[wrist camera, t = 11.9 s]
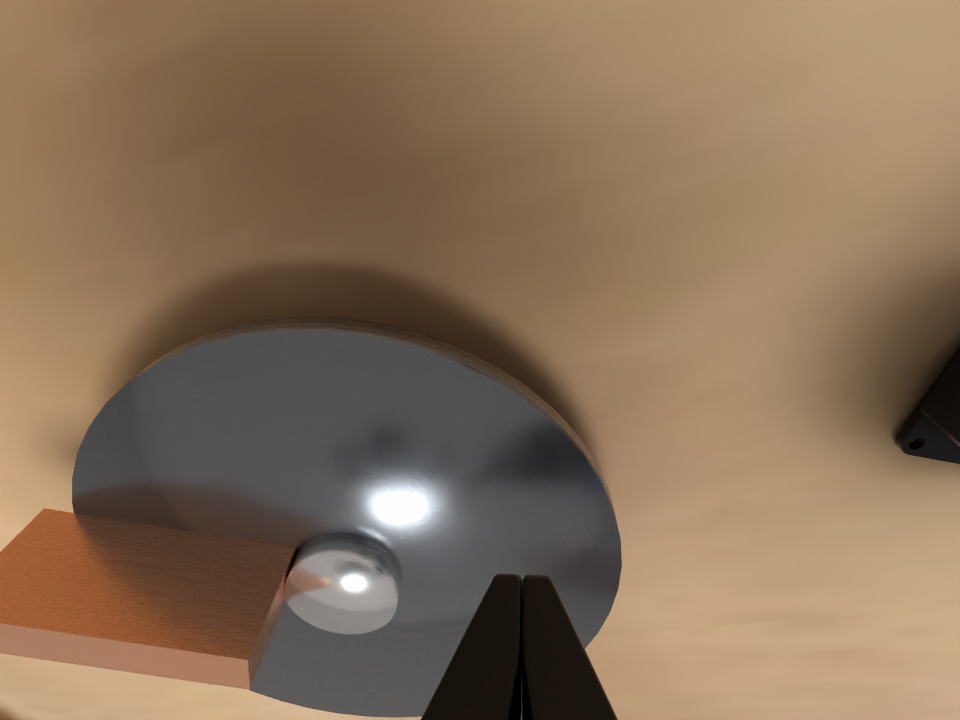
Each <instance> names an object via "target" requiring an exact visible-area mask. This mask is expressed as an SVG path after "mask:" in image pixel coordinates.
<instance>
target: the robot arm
mask: <svg viewBox="0 0 960 720" xmlns="http://www.w3.org/2000/svg"><path fill="white" fill-rule="evenodd" d="M914 439H915V440H914ZM913 440H914V441H913ZM911 441H912V442H911ZM895 443H896V444H897V446H898V447H899V448H900V449H901V450H902V451H903V452H904V453H906V454H909V455H914V456H919V457H925V458H930V459H936V460H941V461H947V462H952V463H958V464H960V347H959V348H958V350H957V351H956V352H955V354H954V355H953V357H952V358H951V360H950V361H949V362H948V364H947V365H946V367H945V368H944V369H943V371H942V372H941V374H940V375H939V376H938V378H937V379H936V381H935V382H934V383H933V385H932V386H931V388H930V389H929V390H928V392H927V393H926V395H925V396H924V397H923V399H922V400H921V402H920V403H919V404H918V406H917V407H916V409H915V410H914V411H913V413H912V414H911V416H910V417H909V418H908V420H907V421H906V423H905V424H904V425H903V427H902V428H901V430H900V431H899V432H898V434H897V435H896V438H895ZM521 717H522V720H618V719H617V717H616V715H615V713H614V711H613V708H612V706H611V704H610V702H609V700H608V698H607V696H606V694H605V691H604V689H603V687H602V685H601V683H600V681H599V679H598V677H597V674H596V672H595V670H594V668H593V666H592V664H591V662H590V660H589V657H588V655H587V653H586V651H585V649H584V647H583V645H582V643H581V640H580V638H579V636H578V634H577V632H576V630H575V628H574V626H573V623H572V621H571V619H570V617H569V615H568V613H567V611H566V609H565V606H564V604H563V602H562V600H561V598H560V596H559V594H558V592H557V589H556V587H555V585H554V583H553V581H552V579H551V578H550V577H549V576H546V575H525V576H524V577H523V581H522V578H521V576H520V575H517V574H496V575H495V576H494V577H493V579H492V580H491V582H490V584H489V586H488V588H487V590H486V592H485V594H484V596H483V598H482V600H481V602H480V604H479V606H478V608H477V610H476V612H475V614H474V616H473V618H472V620H471V622H470V624H469V626H468V628H467V629H466V631H465V633H464V635H463V637H462V639H461V641H460V643H459V645H458V647H457V649H456V651H455V653H454V655H453V657H452V659H451V661H450V663H449V665H448V667H447V669H446V671H445V673H444V675H443V677H442V679H441V681H440V683H439V685H438V687H437V689H436V690H435V692H434V694H433V696H432V698H431V700H430V702H429V704H428V706H427V708H426V710H425V712H424V714H423V716H422V718H421V720H521Z"/></svg>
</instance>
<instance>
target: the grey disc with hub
mask: <svg viewBox="0 0 960 720" xmlns="http://www.w3.org/2000/svg"><path fill="white" fill-rule="evenodd" d="M72 504H73V509H74V513H70V512H63V511H57V510H51V509H43V510H42V511H41V512H40V513H39V514H38V515H37V516H36V517H35V518H34V519H33V520H32V521H31V522H30V523H29V524H28V525H27V526H26V527H25V528H24V529H23V530H22V531H21V532H20V533H19V534H18V535H17V536H16V537H15V538H14V539H13V540H12V541H11V542H10V543H9V544H8V545H7V546H6V547H5V548H4V549H3V550H2V551H1V552H0V653H2V654H9V655H16V656H23V657H30V658H36V659H43V660H50V661H57V662H64V663H71V664H77V665H84V666H91V667H98V668H105V669H112V670H119V671H125V672H132V673H139V674H146V675H153V676H160V677H167V678H173V679H180V680H187V681H194V682H201V683H208V684H215V685H221V686H228V687H235V688H242V689H248V690H251V691H253V692H256V693H259V694H262V695H265V696H268V697H271V698H274V699H277V700H280V701H284V702H288V703H291V704H295V705H299V706H303V707H307V708H312V709H317V710H323V711H328V712H334V713H341V714H350V715H359V716H371V717H420V716H423V714H424V712H425V710H426V708H427V706H428V704H429V702H430V700H431V698H432V696H433V694H434V692H435V690H436V689H437V687H438V685H439V683H440V681H441V679H442V677H443V675H444V673H445V671H446V669H447V667H448V665H449V663H450V661H451V659H452V657H453V655H454V653H455V651H456V649H457V647H458V645H459V643H460V641H461V639H462V637H463V635H464V633H465V631H466V629H467V628H468V626H469V624H470V622H471V620H472V618H473V616H474V614H475V612H476V610H477V608H478V606H479V604H480V602H481V600H482V598H483V596H484V594H485V592H486V590H487V588H488V586H489V584H490V582H491V580H492V579H493V577H494V576H495V575H496V574H517V575H520V576H521V578H522V581H523V577H524V576H525V575H546V576H549V577H550V578H551V579H552V581H553V583H554V585H555V587H556V589H557V592H558V594H559V596H560V598H561V600H562V602H563V604H564V606H565V609H566V611H567V613H568V615H569V617H570V619H571V621H572V623H573V626H574V628H575V630H576V632H577V634H578V636H579V638H580V640H581V643H582V645H583V647H584V649H585V648H586V647H587V645H588V644H589V643H590V642H591V641H592V639H593V638H594V637H595V636H596V635H597V633H598V632H599V630H600V628H601V627H602V625H603V623H604V622H605V620H606V618H607V616H608V615H609V613H610V611H611V608H612V605H613V602H614V599H615V597H616V594H617V591H618V586H619V580H620V573H621V566H622V562H621V540H620V535H619V531H618V526H617V522H616V517H615V513H614V509H613V505H612V500H611V496H610V492H609V490H608V487H607V485H606V483H605V480H604V478H603V476H602V473H601V471H600V469H599V466H598V464H597V463H596V461H595V460H594V458H593V457H592V455H591V453H590V452H589V450H588V449H587V447H586V446H585V444H584V443H583V441H582V439H581V438H580V437H579V436H578V435H577V433H576V432H575V431H574V430H573V429H572V428H571V427H570V425H569V424H568V423H567V422H566V421H565V420H564V419H563V418H562V416H561V415H560V414H559V413H558V412H557V411H556V410H555V409H553V408H552V407H551V406H550V405H549V404H548V403H547V402H545V401H544V400H543V399H542V398H541V397H540V396H538V395H537V394H536V393H535V392H534V391H533V390H531V389H530V388H529V387H527V386H526V385H524V384H523V383H521V382H520V381H518V380H517V379H515V378H514V377H512V376H511V375H509V374H508V373H506V372H505V371H503V370H502V369H500V368H499V367H497V366H495V365H493V364H491V363H489V362H487V361H485V360H483V359H481V358H479V357H477V356H475V355H473V354H471V353H469V352H467V351H465V350H463V349H461V348H459V347H457V346H454V345H451V344H448V343H446V342H443V341H440V340H437V339H435V338H432V337H429V336H426V335H423V334H421V333H418V332H414V331H409V330H405V329H401V328H397V327H392V326H388V325H384V324H380V323H375V322H367V321H359V320H350V319H342V318H333V317H288V318H280V319H272V320H264V321H256V322H248V323H244V324H240V325H237V326H233V327H229V328H225V329H222V330H218V331H214V332H210V333H208V334H206V335H203V336H201V337H199V338H196V339H194V340H192V341H189V342H187V343H185V344H182V345H180V346H178V347H176V348H174V349H173V350H171V351H170V352H168V353H166V354H165V355H163V356H162V357H160V358H159V359H157V360H155V361H154V362H152V363H151V364H149V365H148V366H147V367H146V368H144V369H143V370H142V371H141V372H140V373H139V374H138V375H136V376H135V377H134V378H133V379H132V380H131V381H130V382H129V383H127V384H126V385H125V386H124V387H123V388H122V389H121V390H120V391H119V392H118V393H117V394H116V395H114V396H113V397H112V398H111V399H110V400H109V401H108V402H107V403H106V404H105V406H104V407H103V408H102V410H101V411H100V412H99V414H98V415H97V416H96V418H95V419H94V421H93V422H92V423H91V425H90V426H89V428H88V430H87V432H86V435H85V437H84V439H83V441H82V444H81V446H80V448H79V450H78V454H77V458H76V463H75V468H74V473H73V477H72Z"/></svg>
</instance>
